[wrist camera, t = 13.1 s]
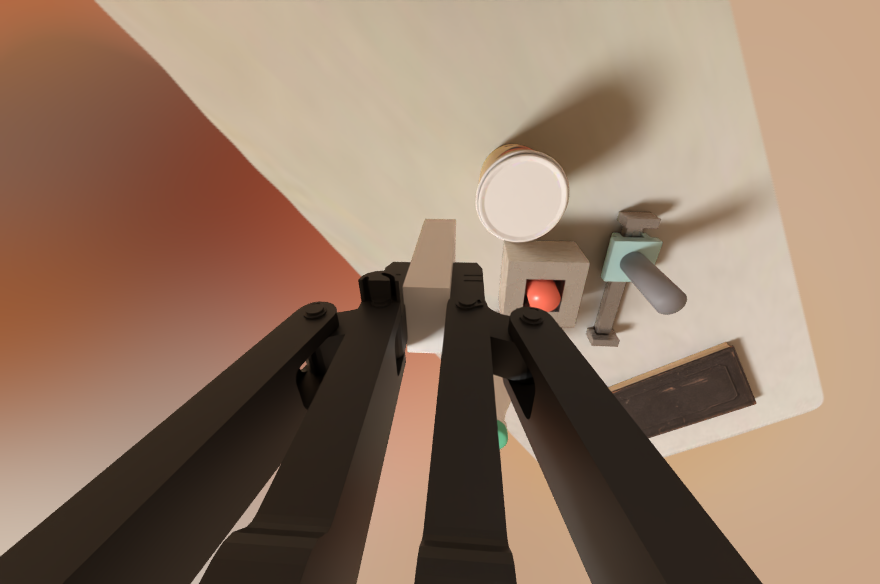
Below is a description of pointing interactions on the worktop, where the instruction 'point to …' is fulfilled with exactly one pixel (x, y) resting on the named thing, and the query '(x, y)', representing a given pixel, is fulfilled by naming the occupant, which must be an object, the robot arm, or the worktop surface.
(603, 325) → the rail
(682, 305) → the carriage
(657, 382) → the hardcover book
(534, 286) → the button
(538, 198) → the coffee cup
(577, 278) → the grey block with hole
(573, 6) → the worktop surface
